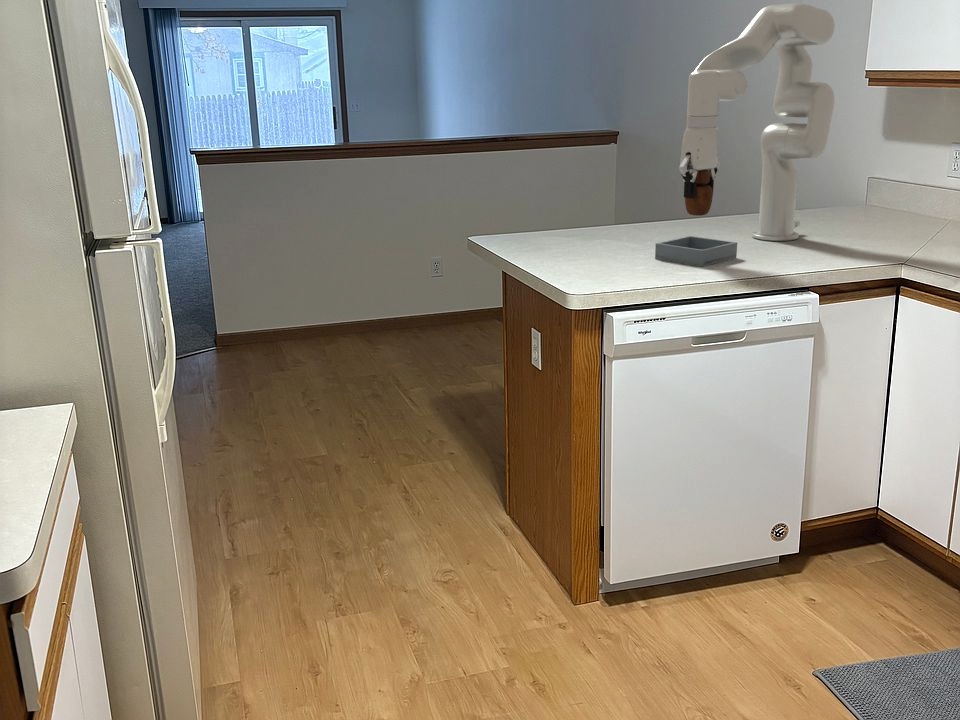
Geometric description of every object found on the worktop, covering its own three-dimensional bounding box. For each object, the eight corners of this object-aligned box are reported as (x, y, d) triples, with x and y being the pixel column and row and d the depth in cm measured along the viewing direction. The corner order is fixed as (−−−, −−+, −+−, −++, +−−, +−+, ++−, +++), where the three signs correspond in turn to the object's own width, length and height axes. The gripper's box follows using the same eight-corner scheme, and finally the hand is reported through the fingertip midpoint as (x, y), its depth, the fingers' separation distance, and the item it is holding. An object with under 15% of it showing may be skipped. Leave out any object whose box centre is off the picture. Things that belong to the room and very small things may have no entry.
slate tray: (689, 250, 246) (690, 235, 245) (736, 257, 236) (737, 242, 234) (655, 258, 237) (655, 243, 236) (702, 266, 227) (703, 250, 225)
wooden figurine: (712, 213, 234) (716, 153, 230) (710, 216, 229) (713, 155, 225) (685, 212, 237) (688, 153, 232) (682, 215, 231) (685, 155, 227)
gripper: (710, 121, 234) (706, 192, 240) (668, 124, 223) (665, 198, 229) (735, 122, 229) (731, 194, 234) (693, 125, 218) (689, 201, 223)
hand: (698, 195), depth 231 cm, fingers closed on wooden figurine, 6 cm apart
